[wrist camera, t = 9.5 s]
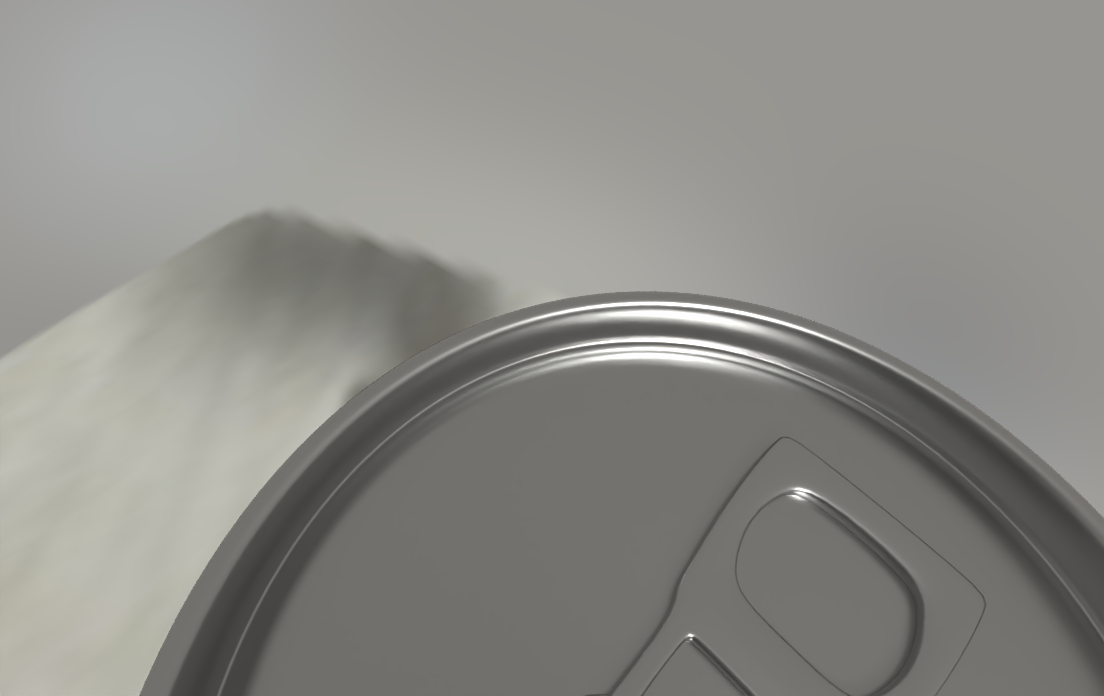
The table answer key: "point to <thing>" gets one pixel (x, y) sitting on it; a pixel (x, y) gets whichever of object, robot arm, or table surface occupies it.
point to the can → (651, 526)
